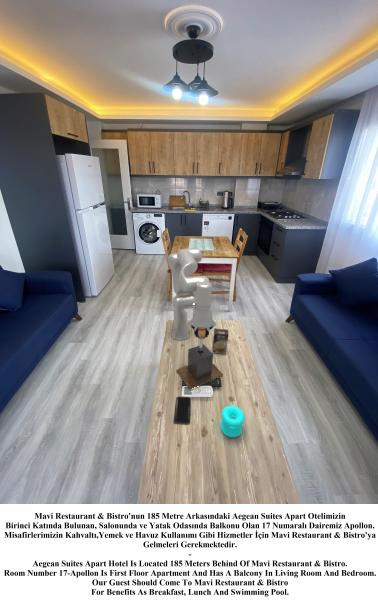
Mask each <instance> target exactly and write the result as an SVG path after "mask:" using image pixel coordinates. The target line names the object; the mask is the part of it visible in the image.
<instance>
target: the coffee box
mask: <svg viewBox="0 0 378 600" xmlns="http://www.w3.org/2000/svg"><path fill="white" fill-rule="evenodd" d="M228 342H229V329H223V328H214V327H213V338H212V346H211V347H212V348H211V352H212V353H213V355H220V356H221V355H222V356H227V349H228V344H229V343H228Z"/></svg>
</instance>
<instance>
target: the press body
mask: <svg viewBox="0 0 378 600" xmlns="http://www.w3.org/2000/svg"><path fill="white" fill-rule="evenodd" d="M187 352H188V353H187V365H186V366H182V367H180V368H177V369H176V370H175V371H176V374H177V375H178V377H179V378H180V379H181V380H182V382H183V381H184V382H185V383H184V382H183V383H184V384H186V385H187V386H188V387H187V386H186V385H185V386H186V387H187V389H188V388H189V389H192V388H194V387H197V386H199V385H202V384H204V383H206V382H208V381H210V380H213V379H216V378H218V379H220V378H222V377H224V373H222V372H221V370H219V369H218V367H217V366H216V365H215V364H214V363H213V361H214V354H213V353H212V350H211V351H210V349H209V348H208V347H207V346H206V345H205V344H204V343H203V344H202V352H203V353H201V354H200V353H199V345H196V346H194V347H190V348H188V350H187ZM216 380H217V379H216ZM213 381H214V380H213ZM206 384H207V383H206ZM204 385H205V384H204ZM202 386H203V385H202ZM199 387H200V386H199ZM197 388H198V387H197ZM189 389H188V390H189ZM192 390H193V389H192Z"/></svg>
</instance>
